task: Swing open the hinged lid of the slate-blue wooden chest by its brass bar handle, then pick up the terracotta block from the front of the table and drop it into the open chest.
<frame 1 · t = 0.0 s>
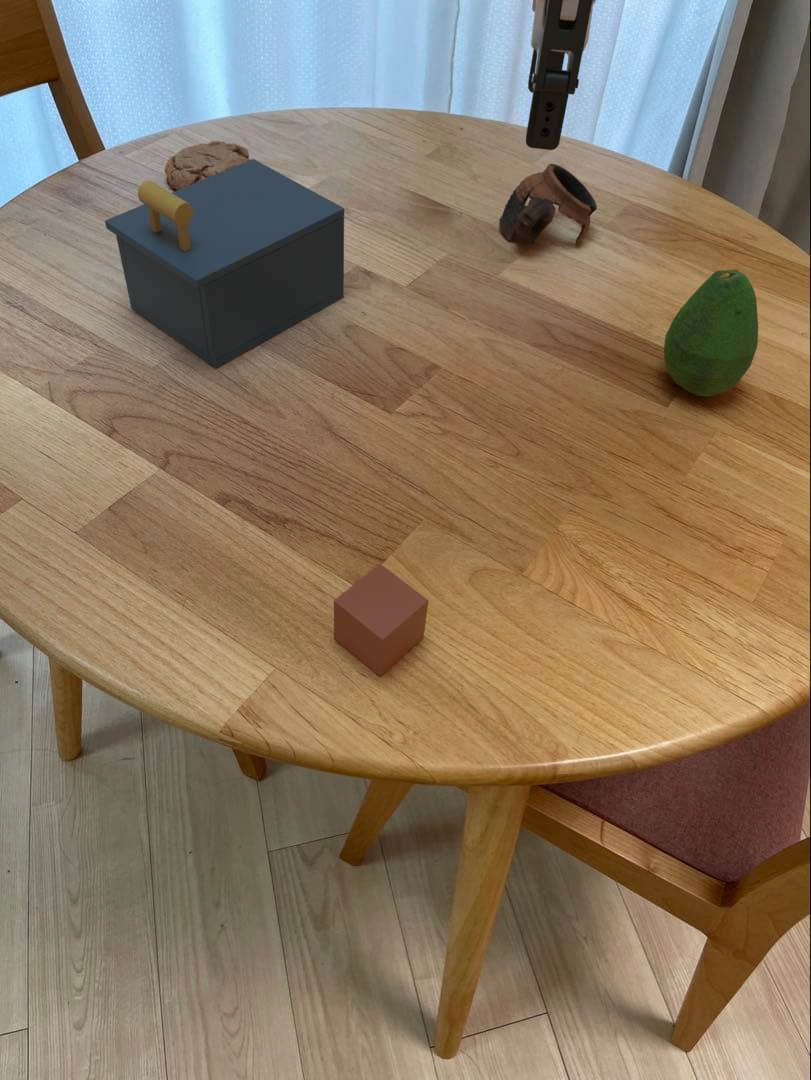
hand: (541, 118, 61), 26 cm above the table, tool pointing down, fingers open, 8 cm apart
block: (378, 638, 63), on the table
lid: (225, 195, 79), point 12 cm above the table, hinge at 0.0°
pottery mug: (538, 238, 100), on the table
cookie: (211, 179, 104), on the table
avocado: (692, 388, 84), on the table
chest: (239, 303, 88), on the table
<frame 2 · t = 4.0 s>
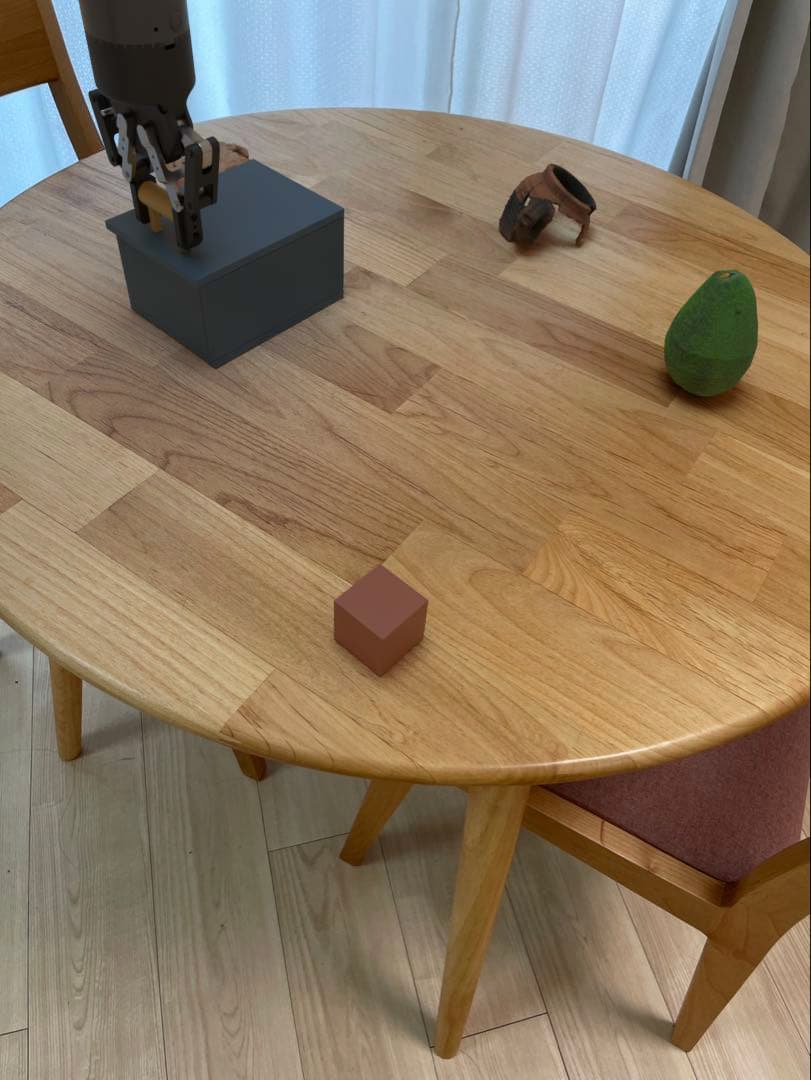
hand: (169, 231, 77), 11 cm above the table, tool pointing down, fingers closed on lid, 5 cm apart
lid: (225, 195, 79), point 12 cm above the table, hinge at 0.0°, touching gripper
everything else where it was.
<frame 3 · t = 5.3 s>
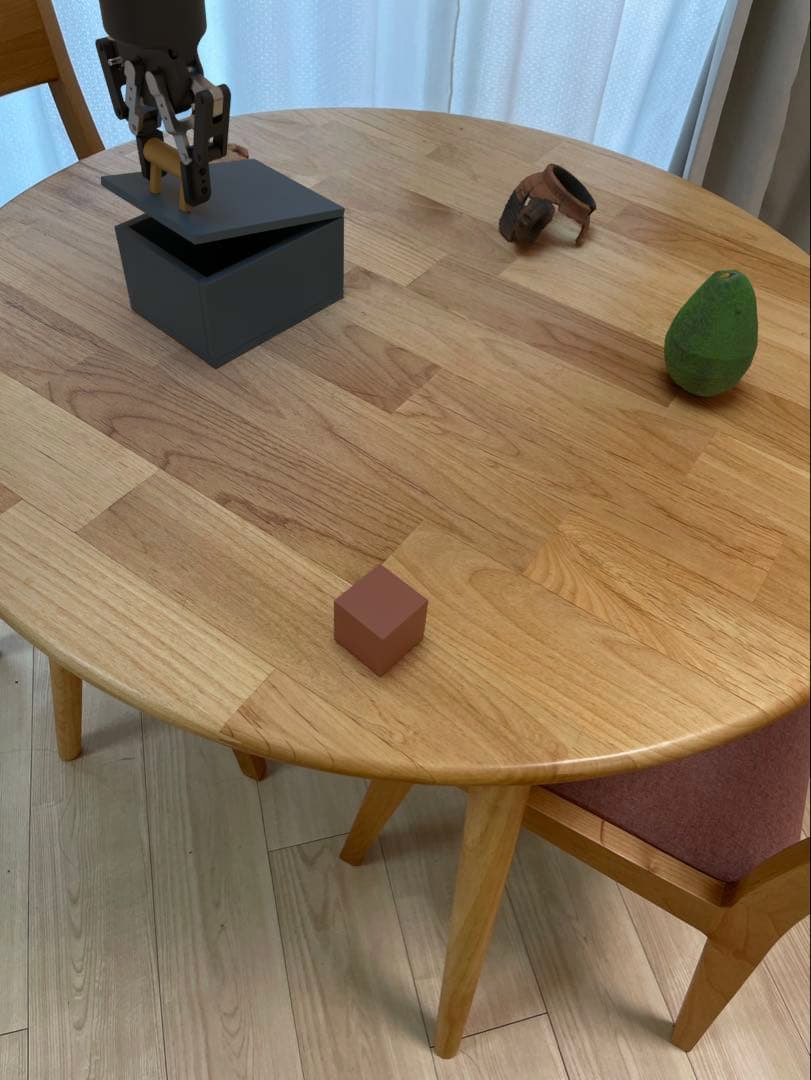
hand: (176, 188, 75), 14 cm above the table, tool pointing down, fingers closed on lid, 5 cm apart
lid: (229, 172, 78), point 13 cm above the table, hinge at 13.1°, touching gripper
everything else where it was.
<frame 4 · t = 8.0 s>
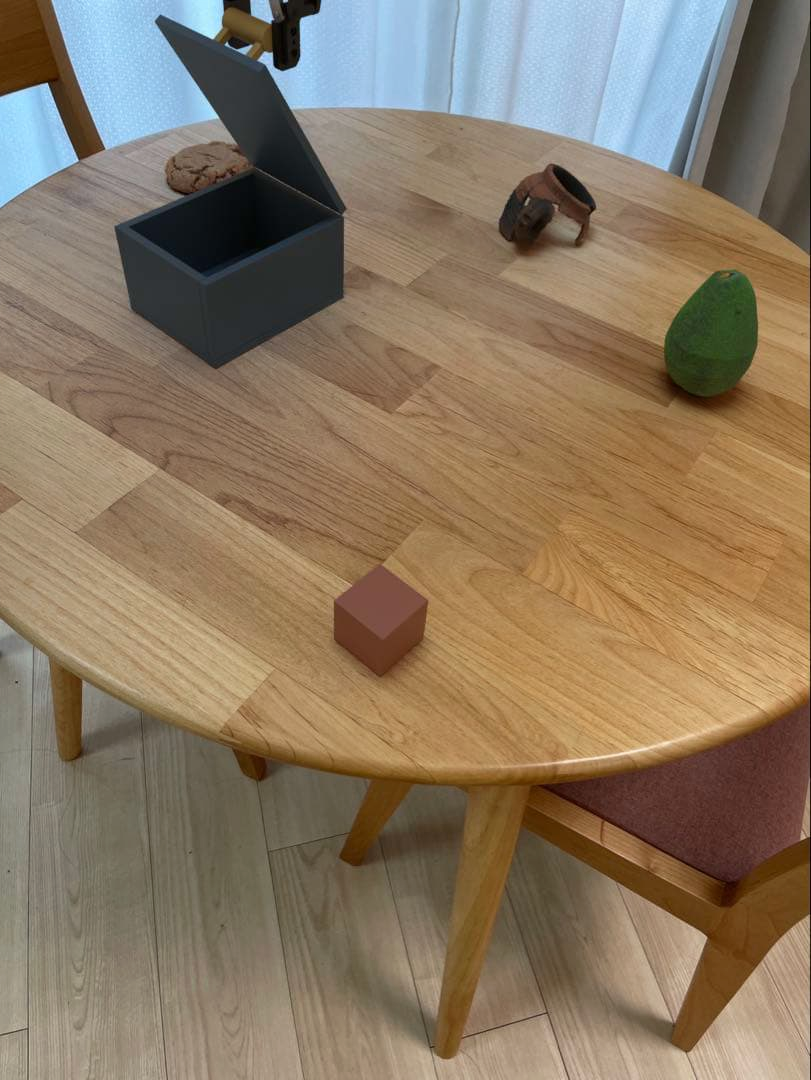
hand: (263, 56, 74), 22 cm above the table, tool pointing down, fingers closed on lid, 5 cm apart
lid: (272, 102, 77), point 18 cm above the table, hinge at 59.2°, touching gripper
everything else where it was.
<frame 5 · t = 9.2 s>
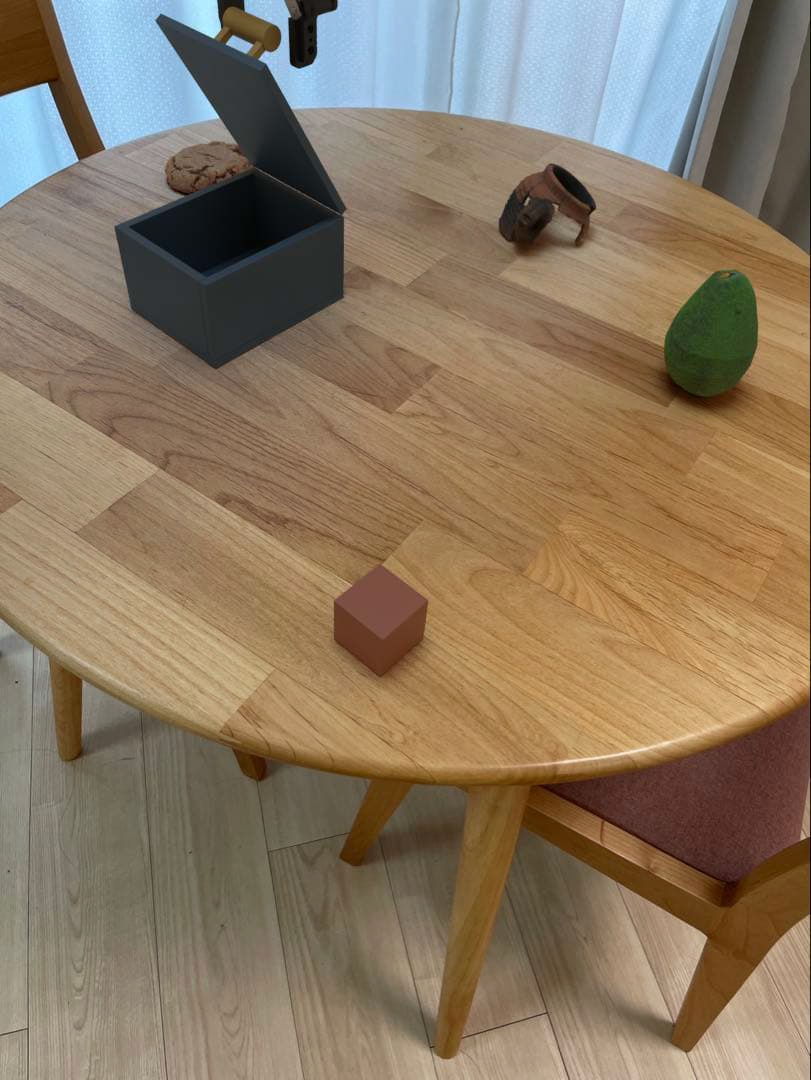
hand: (267, 48, 74), 23 cm above the table, tool pointing down, fingers open, 8 cm apart
lid: (273, 102, 77), point 18 cm above the table, hinge at 59.5°
everything else where it was.
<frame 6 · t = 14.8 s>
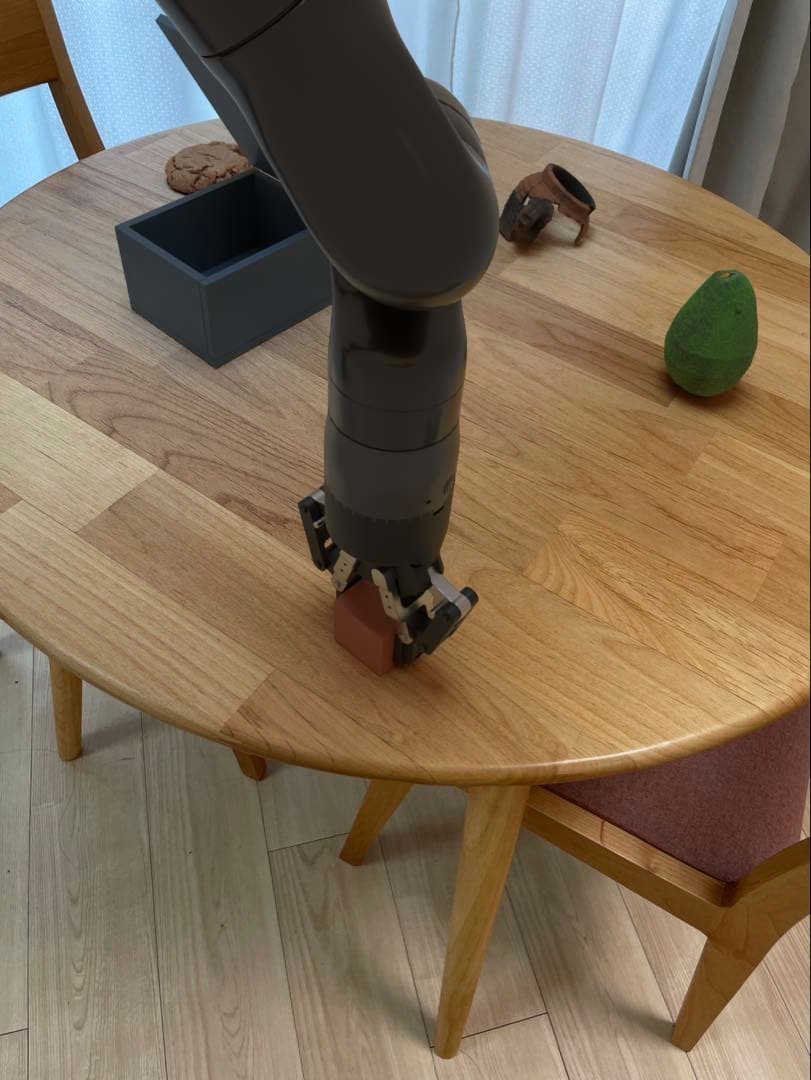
hand: (379, 635, 63), 0 cm above the table, tool pointing down, fingers closed on block, 4 cm apart
block: (378, 638, 63), on the table, touching gripper
everything else where it was.
when the fingers open (14 cm above the table, at t = 22.1 s): block drops 13 cm, resting on chest.
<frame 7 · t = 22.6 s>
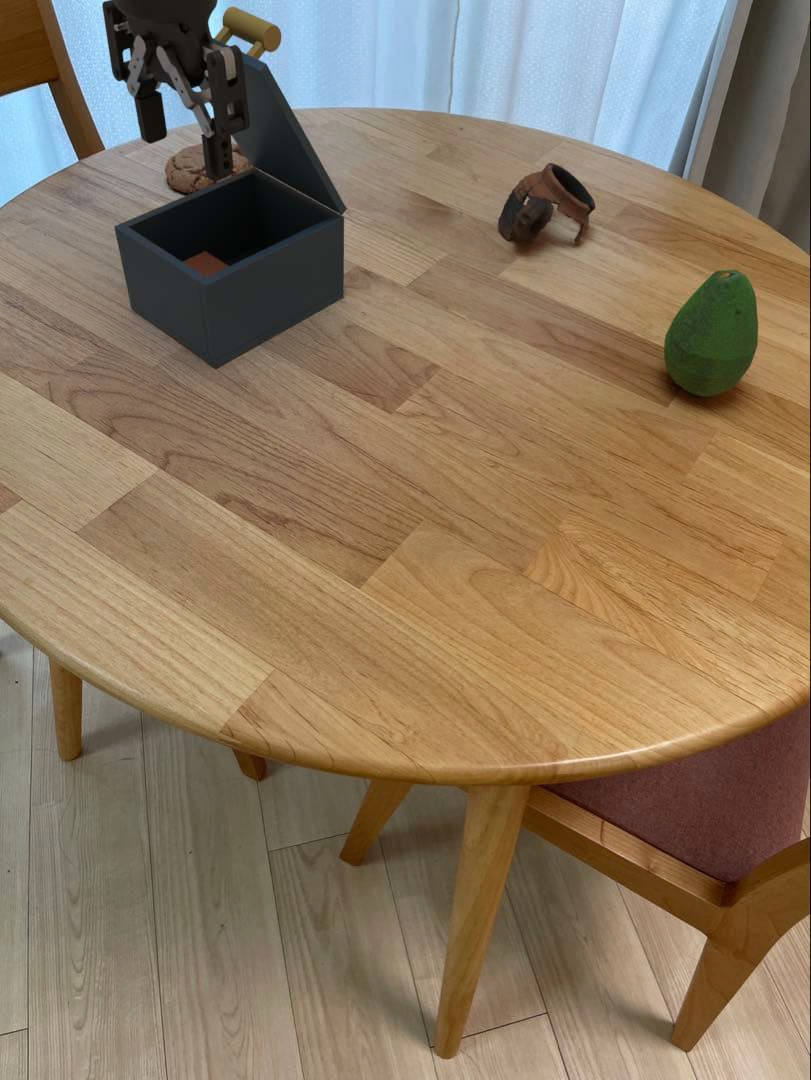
hand: (186, 158, 74), 16 cm above the table, tool pointing down, fingers open, 8 cm apart
block: (207, 311, 85), point 1 cm above the table, touching chest
everything else where it was.
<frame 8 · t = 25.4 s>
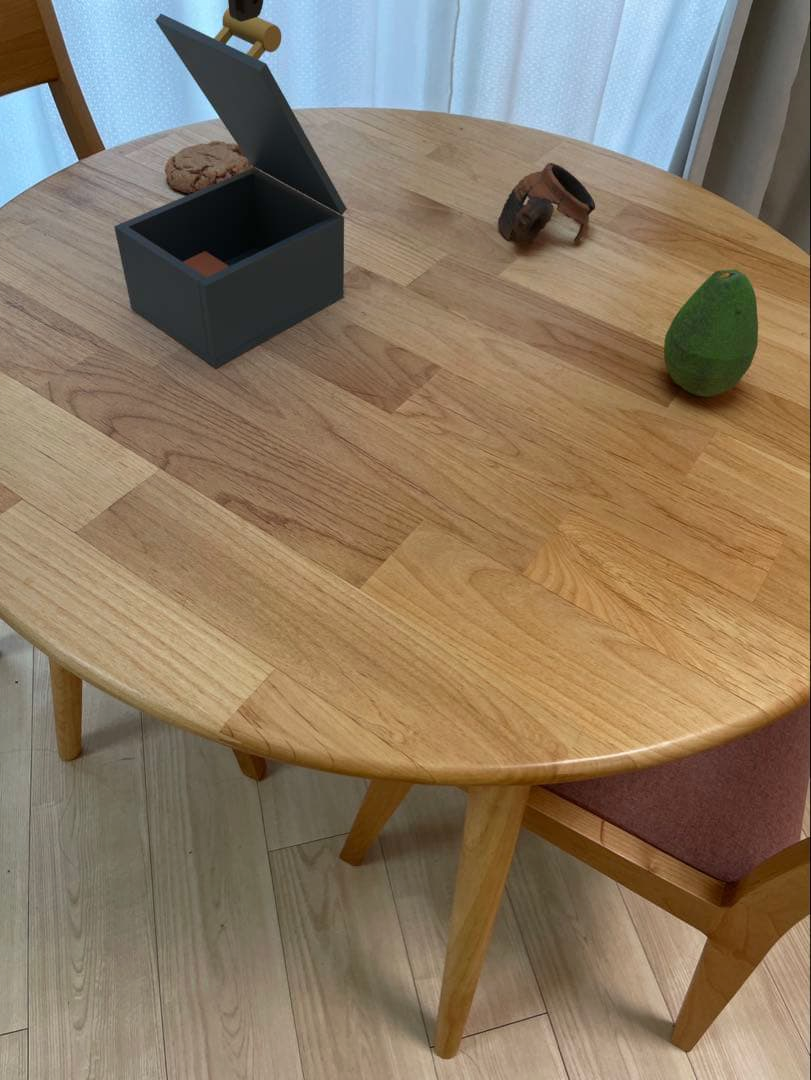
nothing on the table moved.
at the end: lid at +60° (first picture: +0°); block inside the target area in the chest (4.0 cm from its centre), point 0.9 cm above the chest's base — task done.
